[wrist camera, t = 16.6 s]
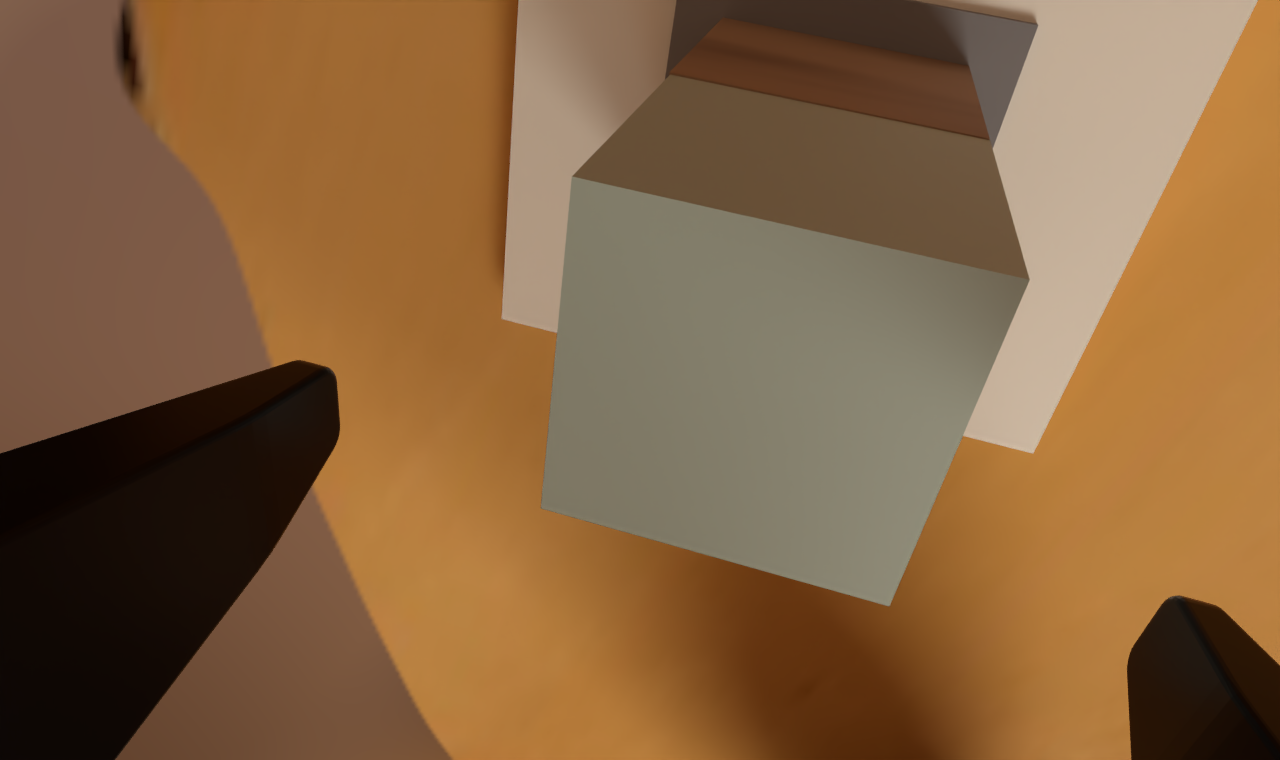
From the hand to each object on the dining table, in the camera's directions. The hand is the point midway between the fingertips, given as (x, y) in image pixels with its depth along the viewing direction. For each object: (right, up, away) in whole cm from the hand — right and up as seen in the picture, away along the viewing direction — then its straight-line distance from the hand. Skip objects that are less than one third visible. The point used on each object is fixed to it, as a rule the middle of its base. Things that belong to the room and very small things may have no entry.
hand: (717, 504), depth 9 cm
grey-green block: (+2, +3, +6) cm, 7 cm away
